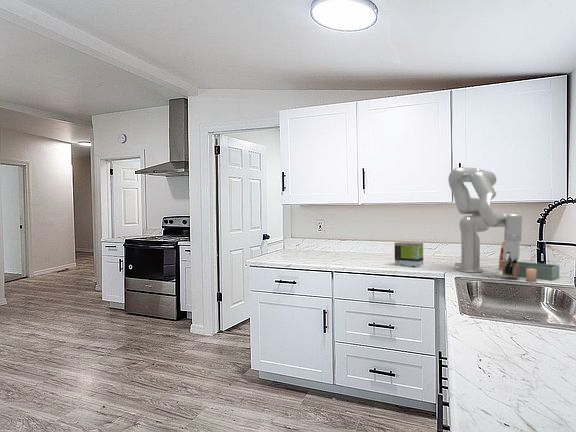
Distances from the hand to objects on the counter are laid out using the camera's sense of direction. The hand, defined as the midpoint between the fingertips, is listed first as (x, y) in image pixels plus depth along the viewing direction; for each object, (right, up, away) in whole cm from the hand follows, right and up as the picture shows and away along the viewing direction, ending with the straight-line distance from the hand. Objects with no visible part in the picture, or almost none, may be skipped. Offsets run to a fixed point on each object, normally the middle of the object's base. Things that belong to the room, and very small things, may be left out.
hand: (511, 272), depth 198 cm
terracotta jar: (+6, -3, -7) cm, 10 cm away
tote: (+15, -3, +5) cm, 16 cm away
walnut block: (0, -1, 0) cm, 1 cm away
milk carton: (+13, -2, +25) cm, 28 cm away
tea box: (-38, -3, +47) cm, 60 cm away
